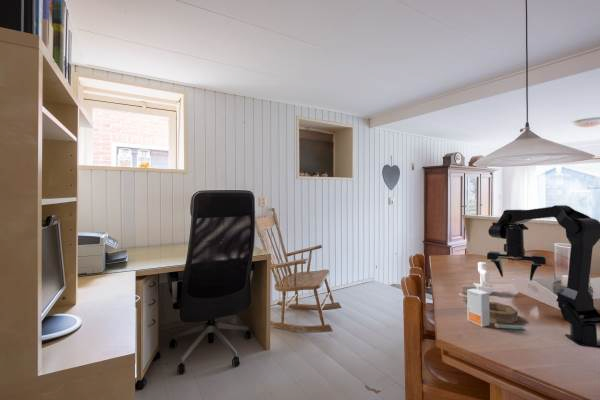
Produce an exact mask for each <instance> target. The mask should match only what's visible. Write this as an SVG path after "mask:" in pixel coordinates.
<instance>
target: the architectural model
mask: <svg viewBox="0 0 600 400" xmlns="http://www.w3.org/2000/svg"><path fill="white" fill-rule="evenodd" d="M461 288H462V289H461V290H462V292H461V293H459V296H460V297H462V301H463V300H465V301H464V302H467V290H468V289H476V286H474V285H463V284H462V285H461Z"/></svg>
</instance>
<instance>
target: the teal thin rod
mask: <svg viewBox="0 0 600 400" xmlns="http://www.w3.org/2000/svg"><path fill="white" fill-rule="evenodd" d="M494 328H496V329H498V328H499V329H509V330H510V329H512V330H525V329H524V326H520V325H519V326H518V325H508V324H507V325H505V324H499V323H494Z"/></svg>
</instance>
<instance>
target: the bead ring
mask: <svg viewBox="0 0 600 400" xmlns="http://www.w3.org/2000/svg"><path fill="white" fill-rule="evenodd" d="M489 314H490V322H493V323H496V324H513V323H515V322H517V321H518V320H519V319H518V318H519V316H518V310H516V309H515V308H514V307H513V306H511V305H507V304H503V303H499V302H496V301H495V302H494V301H493V302H492V301H489Z"/></svg>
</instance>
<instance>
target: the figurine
mask: <svg viewBox="0 0 600 400" xmlns="http://www.w3.org/2000/svg"><path fill="white" fill-rule="evenodd" d="M487 269H488V266H487V262H485V261H483V262H482V261H479V262H477V271H478V273H479V279H480V280H479V282H480V283H479V282H473V286H476V289H477V290H482V291H484V292H488V293H489V295H491V294H492V292H493V291H494V290H495V287H494V286H493V285H491V284H490V283H489V282H490V275H489V272H488V271H487Z"/></svg>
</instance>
